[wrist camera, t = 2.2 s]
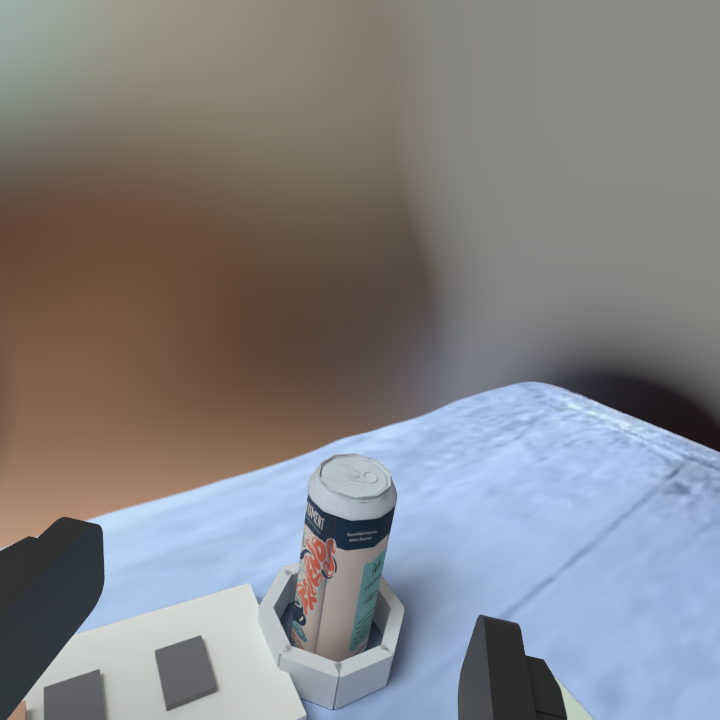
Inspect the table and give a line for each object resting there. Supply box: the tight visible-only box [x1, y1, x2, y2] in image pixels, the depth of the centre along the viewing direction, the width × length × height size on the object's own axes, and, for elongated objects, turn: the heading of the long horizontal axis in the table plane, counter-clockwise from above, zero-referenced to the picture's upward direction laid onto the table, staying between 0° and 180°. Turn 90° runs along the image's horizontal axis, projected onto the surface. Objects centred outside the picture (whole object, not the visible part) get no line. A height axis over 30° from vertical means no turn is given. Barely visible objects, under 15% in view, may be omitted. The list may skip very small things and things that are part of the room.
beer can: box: [290, 453, 397, 663], centre depth 29 cm, size 5×5×12 cm
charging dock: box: [7, 562, 405, 720], centre depth 28 cm, size 22×9×2 cm, turn 119°
